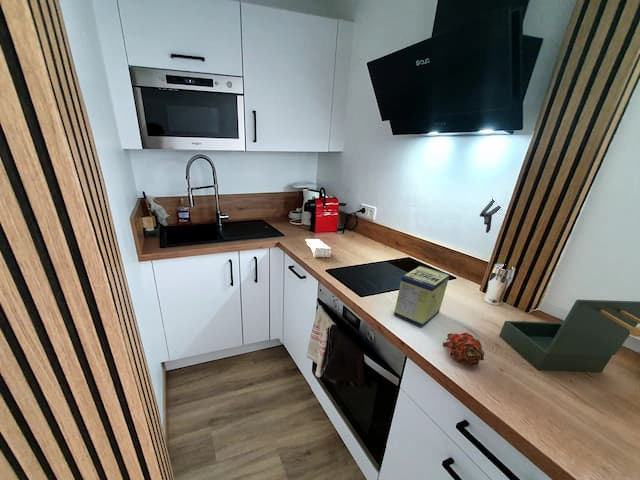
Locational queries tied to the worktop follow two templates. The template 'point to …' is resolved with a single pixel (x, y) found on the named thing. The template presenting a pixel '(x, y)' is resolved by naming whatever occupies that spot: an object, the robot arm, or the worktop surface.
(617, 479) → the worktop surface
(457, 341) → the dragon fruit
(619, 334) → the box lid with handle
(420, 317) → the protein box
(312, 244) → the white rectangular block
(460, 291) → the worktop surface
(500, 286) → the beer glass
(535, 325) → the dark green box base
